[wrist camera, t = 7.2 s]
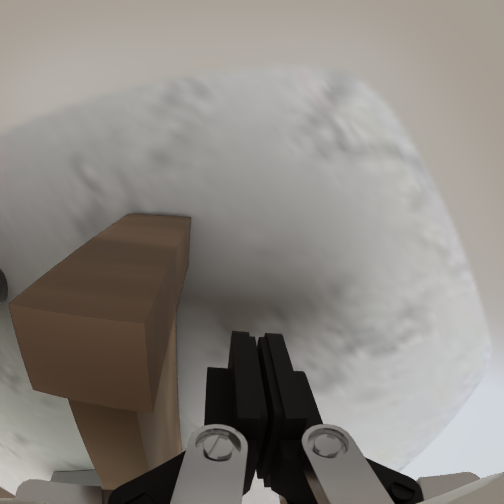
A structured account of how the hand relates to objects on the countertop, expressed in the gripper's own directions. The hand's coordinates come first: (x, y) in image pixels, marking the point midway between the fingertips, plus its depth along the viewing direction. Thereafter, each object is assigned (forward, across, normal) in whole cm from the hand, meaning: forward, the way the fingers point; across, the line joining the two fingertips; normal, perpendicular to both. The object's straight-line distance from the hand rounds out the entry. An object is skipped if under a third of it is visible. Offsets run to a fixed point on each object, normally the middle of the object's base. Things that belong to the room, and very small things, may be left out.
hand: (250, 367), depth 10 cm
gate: (+3, +4, +3) cm, 5 cm away
